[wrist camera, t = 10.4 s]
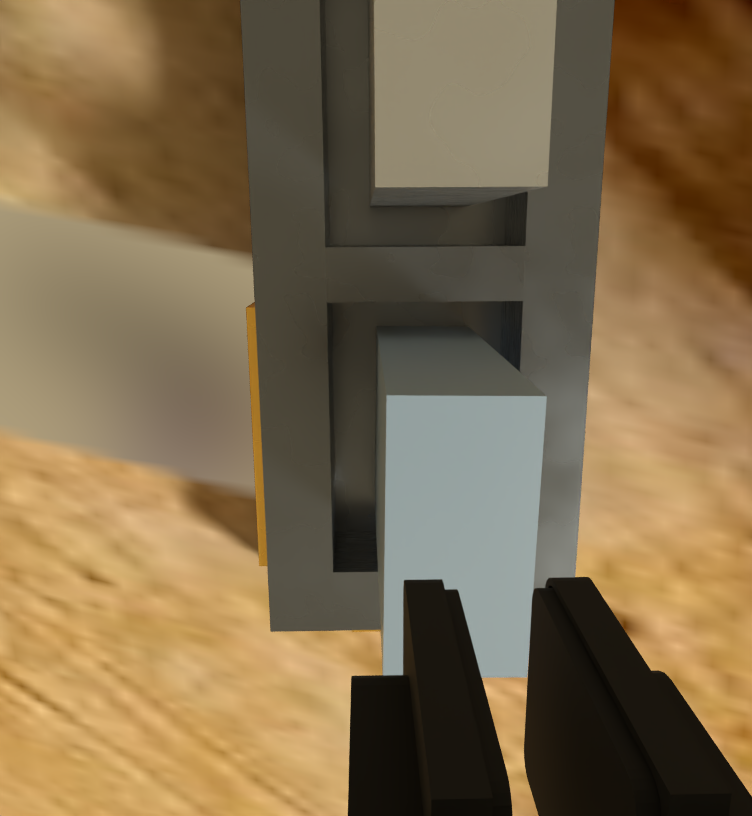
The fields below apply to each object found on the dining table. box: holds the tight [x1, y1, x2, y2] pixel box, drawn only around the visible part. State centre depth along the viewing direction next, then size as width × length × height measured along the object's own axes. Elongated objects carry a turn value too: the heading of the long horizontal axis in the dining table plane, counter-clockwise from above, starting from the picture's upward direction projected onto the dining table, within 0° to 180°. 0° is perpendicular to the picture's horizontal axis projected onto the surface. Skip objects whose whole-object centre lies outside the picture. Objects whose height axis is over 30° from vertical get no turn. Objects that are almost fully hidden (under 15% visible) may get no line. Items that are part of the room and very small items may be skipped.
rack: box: [240, 0, 615, 632], centre depth 18 cm, size 10×22×11 cm, turn 0°
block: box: [375, 326, 547, 677], centre depth 19 cm, size 3×6×10 cm, turn 179°
